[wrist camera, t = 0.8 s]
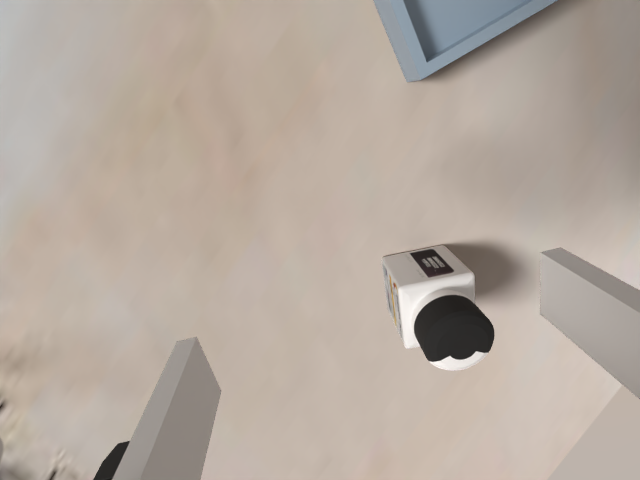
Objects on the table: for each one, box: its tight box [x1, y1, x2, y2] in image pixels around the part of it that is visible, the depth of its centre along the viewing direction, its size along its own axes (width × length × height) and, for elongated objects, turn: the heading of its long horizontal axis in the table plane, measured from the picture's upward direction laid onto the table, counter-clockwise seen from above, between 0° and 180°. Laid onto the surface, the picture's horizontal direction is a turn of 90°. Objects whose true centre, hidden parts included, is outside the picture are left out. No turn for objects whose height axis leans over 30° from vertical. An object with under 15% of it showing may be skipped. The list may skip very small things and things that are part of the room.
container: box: [381, 245, 494, 371], centre depth 37 cm, size 8×8×13 cm
